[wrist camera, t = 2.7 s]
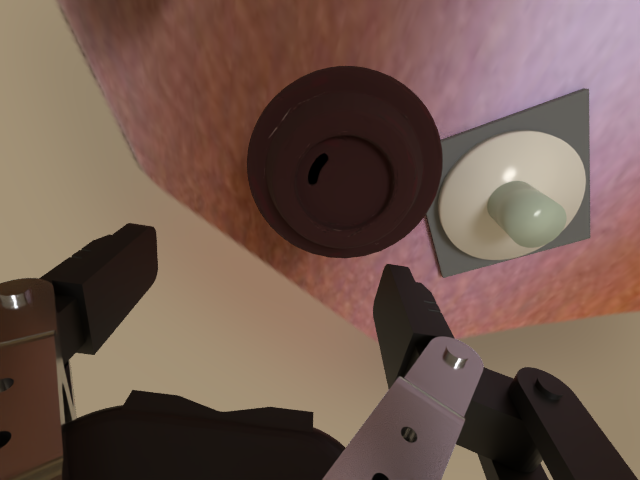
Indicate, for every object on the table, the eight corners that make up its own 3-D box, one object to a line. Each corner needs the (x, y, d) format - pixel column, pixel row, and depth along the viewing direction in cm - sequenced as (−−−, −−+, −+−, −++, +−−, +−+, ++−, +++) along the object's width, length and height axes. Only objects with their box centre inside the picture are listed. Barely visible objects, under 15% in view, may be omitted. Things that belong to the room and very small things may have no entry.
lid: (575, 107, 26) (630, 118, 21) (578, 232, 32) (623, 265, 27) (424, 159, 29) (443, 180, 24) (450, 267, 34) (470, 303, 29)
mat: (583, 88, 26) (588, 89, 26) (586, 235, 32) (590, 238, 32) (409, 151, 29) (410, 152, 29) (441, 274, 35) (443, 277, 35)
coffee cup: (417, 149, 29) (483, 224, 16) (320, 201, 32) (308, 301, 19) (366, 35, 25) (398, 11, 12) (261, 105, 28) (193, 147, 15)
